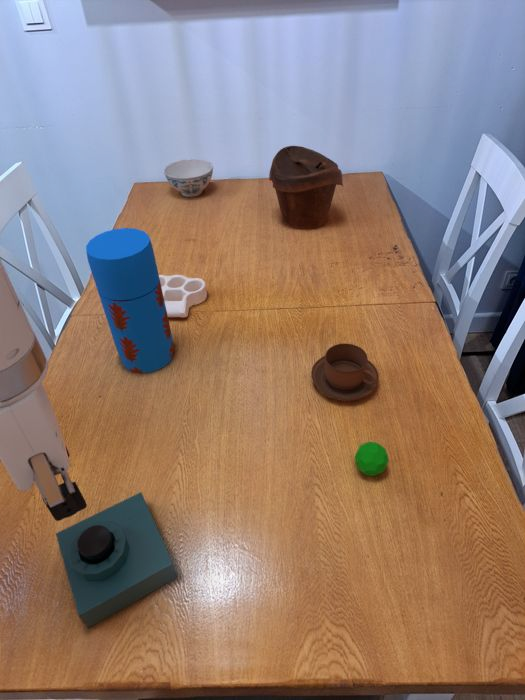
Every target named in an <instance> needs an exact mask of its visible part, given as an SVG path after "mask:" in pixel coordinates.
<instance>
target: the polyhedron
mask: <svg viewBox="0 0 525 700" xmlns="http://www.w3.org/2000/svg"><path fill="white" fill-rule="evenodd" d="M354 460H355V465H356V468H357V469H358V470H359V471H360V472H361V473H363V474H364V475H366V476H370V477H375V476H377V475H379V474H381V473H383V472H385V470H386V468H387V466H388V464H389V461H390V459H389V456H388V453H387V450H386V448H385V447H384V446H383V445H381V444H380V443H378V442H375V441H367V442H365V443H363V444H360V445H359V446H358V449H357V450H356V453H355V455H354Z"/></svg>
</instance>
